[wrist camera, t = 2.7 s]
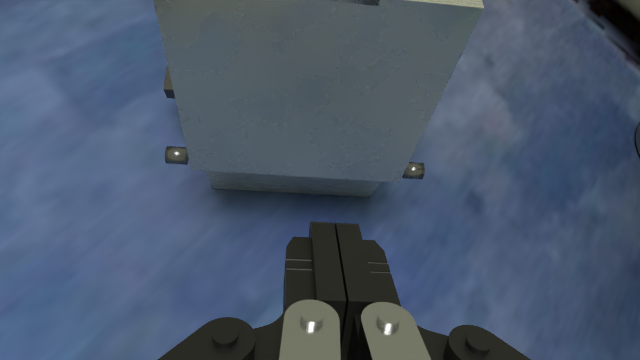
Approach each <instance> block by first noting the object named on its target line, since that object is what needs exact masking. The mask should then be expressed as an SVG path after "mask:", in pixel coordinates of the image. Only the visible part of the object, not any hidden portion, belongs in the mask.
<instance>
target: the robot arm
mask: <svg viewBox="0 0 640 360" xmlns="http://www.w3.org/2000/svg"><path fill="white" fill-rule="evenodd" d="M636 146H637V149H638V153H639V155H640V124H639V126H638V128H637V131H636ZM283 297H284V299H283V314H282V315H281V316H280V318H279V319H277V320H276V321H275V322H273V323H271V324H269V325H266V326H263V327H259V328H255V329H252V327H251V326H250V325H249V324H247V323H246V322H244V321H243V320H240V319H237V318H230V317H225V318H218V319H215V320H212V321H210V322H208V323H206V324H205V325H203V326H202V327H201V328H199V329H198V330H197V331H195V332H194V333H193V334H191V335H190V336H189V337H187V338H186V339H185V340H183V341H182V342H181V343H179V344H178V345H177V346H175V347H174V348H173V349H171V350H170V351H169V352H167V353H166V354H165V355H163V356H162V357H161V358H159V359H158V360H530V359H529V358H527V357H526V356H524V355H523V354H522V353H520V352H519V351H517V350H516V349H514V348H513V347H511V346H510V345H508V344H507V343H505V342H504V341H502V340H501V339H500V338H498V337H497V336H495V335H494V334H492V333H491V332H489V331H487V330H485V329H483V328H480V327H477V326H473V325H461V326H458V327H456V328H454V329H453V330H452V331H451V332H450V334H449V336H446V335H442V334H439V333H435V332H432V331H429V330H426V329H423V328H421V327H419V326H417V325H416V323H415V321H414V319H413V317H412V316H411V314H410V313H409V312H408V311H407V310H405V309H404V308H402V307H401V305H400V302H399V298H398V295H397V292H396V289H395V285H394V282H393V279H392V276H391V274H390V269H389V266H388V264H387V259H386V256H385V253H384V250H383V249H382V248H381V247H380V246H379V245H378V244H377V243H376V242H375V241H374V240H362V236H361V232H360V228H359V225H358V224H350V223H335V224H334V223H328V222H310V228H309V238H308V237H293V238H292V240H291V241H290V242H289V244H288V245H287V248H286V261H285V275H284V296H283Z"/></svg>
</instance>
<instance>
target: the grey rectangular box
mask: <svg viewBox="0 0 640 360" xmlns="http://www.w3.org/2000/svg"><path fill="white" fill-rule="evenodd" d="M164 92H165V94H166V96H167V98H175V95H174V91H173V86H172V82H171V77H170V73H169V68H168V64H167V69H166V76H165V83H164ZM188 161H189V158H188V153H187V149H186V147H173V146H167V147H166V151H165V162H166V163H168V164H184V165H187V164H188ZM424 171H425V168H424V164H423V163H415V162H409V164H408V166H407V168H406V170H405V172H404V174H403V176H402V178H408V179H423V177H424ZM206 173H207V176H208V178H209V181H210V183H211V185H212V188H216V189H233V190H250V191H267V192H285V193H302V194H319V195H336V196H354V197H370V196H371V195H372V194H373V192H374V191H375V190H376V189H377V187H378V186H379V185H380V184H381V182H382V181H366V180H350V179H334V178H317V177H301V176H285V175H269V174H252V173H236V172H220V171H206Z"/></svg>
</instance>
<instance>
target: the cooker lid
mask: <svg viewBox="0 0 640 360" xmlns="http://www.w3.org/2000/svg"><path fill="white" fill-rule="evenodd" d="M153 1H154V6H155V10H156V15H157V19H158V24H159V28H160V33H161V37H162V42H163V46H164V51H165V55H166V59H167V64H168V68H169V73H170V77H171V82H172V86H173V91H174V95H175V100H176V104H177V109H178V113H179V118H180V122H181V126H182V131H183V135H184V140H185V144H186V149H187V153H188V158H189V162H190V167H191V170H204V171H220V172H236V173H252V174H269V175H285V176H301V177H317V178H334V179H350V180H366V181H382V182H398V183H399V182H400V180H401V178H402V176H403V174H404V172H405V170H406V168H407V166H408V164H409V162H410V159H411V157H412V155H413V153H414V151H415V149H416V147H417V145H418V143H419V141H420V139H421V137H422V135H423V133H424V131H425V129H426V127H427V125H428V123H429V120H430V118H431V116H432V114H433V112H434V110H435V108H436V106H437V104H438V102H439V100H440V98H441V96H442V94H443V92H444V90H445V88H446V86H447V83H448V81H449V79H450V77H451V75H452V73H453V71H454V69H455V67H456V65H457V63H458V61H459V59H460V57H461V55H462V53H463V51H464V49H465V47H466V44H467V42H468V40H469V38H470V36H471V34H472V32H473V30H474V28H475V26H476V24H477V22H478V20H479V18H480V16H481V14H482V12H483V10H484V6H483V3H482V0H153Z"/></svg>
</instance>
